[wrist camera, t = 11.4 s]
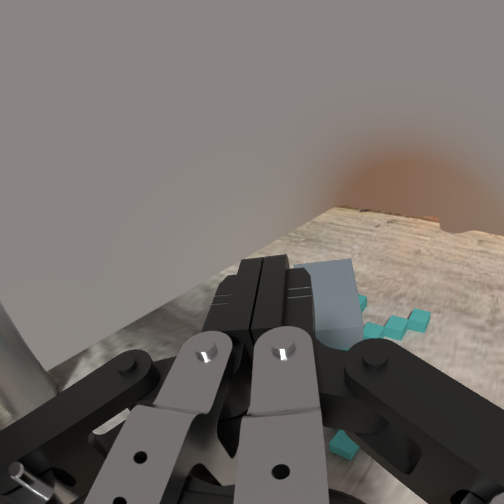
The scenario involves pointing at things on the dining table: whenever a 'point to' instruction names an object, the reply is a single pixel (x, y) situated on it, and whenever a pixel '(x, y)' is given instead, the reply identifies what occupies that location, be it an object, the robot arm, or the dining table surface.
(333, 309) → the board
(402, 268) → the dining table surface
